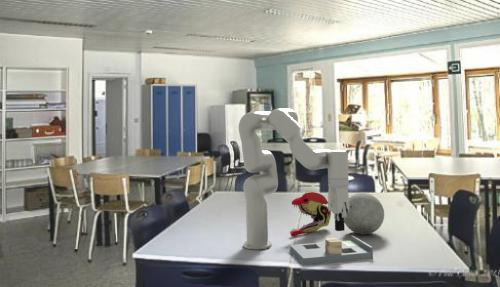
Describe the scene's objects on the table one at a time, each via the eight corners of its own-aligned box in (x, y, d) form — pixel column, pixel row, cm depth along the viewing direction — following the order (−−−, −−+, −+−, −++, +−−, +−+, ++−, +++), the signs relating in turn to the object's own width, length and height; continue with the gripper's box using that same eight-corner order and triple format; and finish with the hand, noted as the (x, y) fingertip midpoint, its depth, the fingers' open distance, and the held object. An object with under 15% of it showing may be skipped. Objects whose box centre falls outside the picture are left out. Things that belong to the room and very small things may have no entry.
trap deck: (290, 250, 179) (289, 240, 178) (353, 245, 184) (352, 235, 184) (303, 264, 161) (303, 253, 161) (372, 258, 167) (372, 247, 166)
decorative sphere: (385, 230, 208) (385, 190, 207) (382, 241, 190) (382, 197, 189) (345, 227, 216) (345, 189, 215) (338, 237, 197) (338, 195, 196)
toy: (285, 235, 202) (285, 194, 201) (324, 226, 218) (323, 188, 217) (296, 238, 197) (295, 196, 196) (334, 229, 212) (334, 190, 212)
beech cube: (325, 250, 169) (325, 238, 169) (336, 249, 170) (336, 237, 170) (329, 254, 165) (329, 242, 164) (341, 253, 165) (341, 241, 165)
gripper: (321, 180, 165) (323, 226, 166) (337, 185, 150) (338, 236, 151) (339, 179, 166) (340, 225, 167) (356, 184, 152) (357, 234, 152)
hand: (339, 230), depth 159 cm, fingers closed
